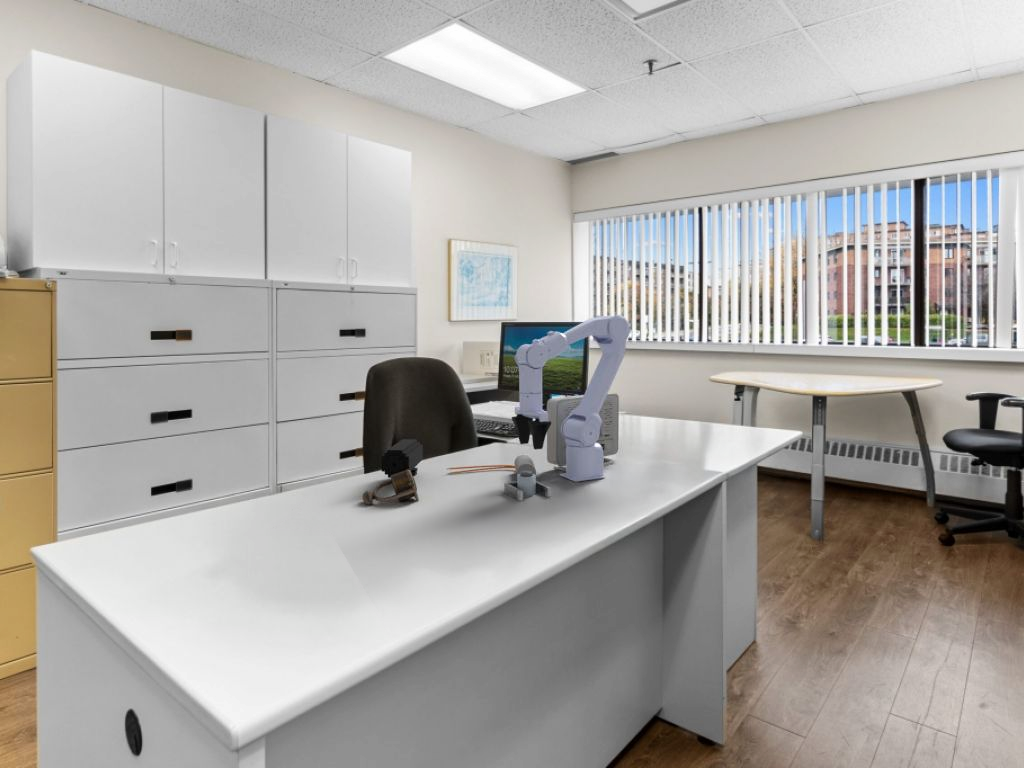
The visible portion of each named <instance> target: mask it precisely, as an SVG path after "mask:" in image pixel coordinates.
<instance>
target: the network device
mask: <svg viewBox="0 0 1024 768" xmlns="http://www.w3.org/2000/svg"><path fill="white" fill-rule="evenodd" d="M583 396H584V394H581V395H573V396H570V395H569V396H562V397H553V398H549V399H548V400H547V402H546V413H548V421H551V425H550V427H549V429H548V431H547V433H546V460H547V462H548V464H551V465H554V469H555V470H558V471H563V472H566V443H565V438H564V437H563V436H562V434H561V425H562V423H563V421H564V420H565V419H566V418H567V417H568V416H569V414H570V412H571V411H572V410H573V409H575V408H576V407H578V406H579V405H580V403H581V401H582V398H583ZM619 406H620V396H619V395H618V394H617V393H613V392H608V394H607V396H606V398H605V400H604V402H603V405H602V407H601V409H600V411H599V416H600V418H601V420H602V424H601V426H600V434H599V438H598V440H597V441H596V442H595V443H598V444H600V445H601V447H602V449H603V454H604V465H606V466H609V465H608V464H610V465H613V464H614V461H615V460H614V459H610V458H607V457H609V456H613V455H617V453H618V452H619V427H620V425H619V422H620V420H619V418H620V416H619V415H620V413H619V411H620V407H619ZM606 461H607V462H606ZM612 463H613V464H612ZM604 465H603V467H604Z"/></svg>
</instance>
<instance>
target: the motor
mask: <svg viewBox="0 0 1024 768" xmlns="http://www.w3.org/2000/svg"><path fill="white" fill-rule="evenodd" d="M460 469H461V470H460ZM463 469H465V470H463ZM466 469H467V470H466ZM499 469H514V470H515V473H516V476H517V475H518V474H520V472H521V471H532V472H533V474H535V475H536V476H537V470H536V467H535V464H534V460H533V459H532V457H531V456H530V455H528V454H526V453H521V454H519V455H517V456H516V458H514V465H513V464H512V465H510V464H509V465H508V464H496V465H495V464H493V465H491V464H490V465H473V466H470V465H469V466H458V467H456V466H455V467H448V468H446V470H457V471H451V472H447V475H450V474H451V475H453V474H459V473H460V474H461V473H469V472H478V471H486V470H499Z"/></svg>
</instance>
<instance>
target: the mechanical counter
mask: <svg viewBox="0 0 1024 768" xmlns="http://www.w3.org/2000/svg"><path fill="white" fill-rule="evenodd" d="M415 480H416V479H415V478H414V476H413V475H412V473H411V471H409V470H405V471H403V472H400V473H397V474H394V475H391V478H390V480H387V481H384V482H382V483H380V484H378V485H377V486H376V487H375V488H374V490H373V491H372V492H370V491H369V490H365V491H364V492H363V494H362V500H363V503H364V504H365V505H367V506H370V505H371V506H372V505H373V501H374V500H376V501H378V502H381V503H383V502H390V501H394V500H397V501H398V502H402V501H406V500H408V499H410V498H413V497H414V498H415V499H414V500H415V501H417V502H418V501H420V499H419V495H418V487H417V484H416V481H415ZM391 485H392V486H393V489H394V495H391V496H386V497H380V496H377V493H378V491H379V490H382V488H384V487H386V486H391Z"/></svg>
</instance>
